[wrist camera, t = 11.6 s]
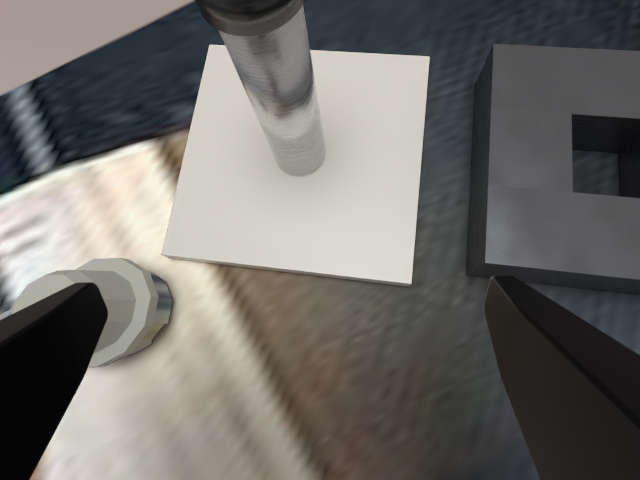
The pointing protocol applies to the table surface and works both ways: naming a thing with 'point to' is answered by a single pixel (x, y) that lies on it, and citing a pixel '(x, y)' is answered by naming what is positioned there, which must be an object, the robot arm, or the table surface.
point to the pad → (312, 190)
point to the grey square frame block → (555, 167)
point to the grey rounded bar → (112, 304)
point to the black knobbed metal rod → (274, 75)
